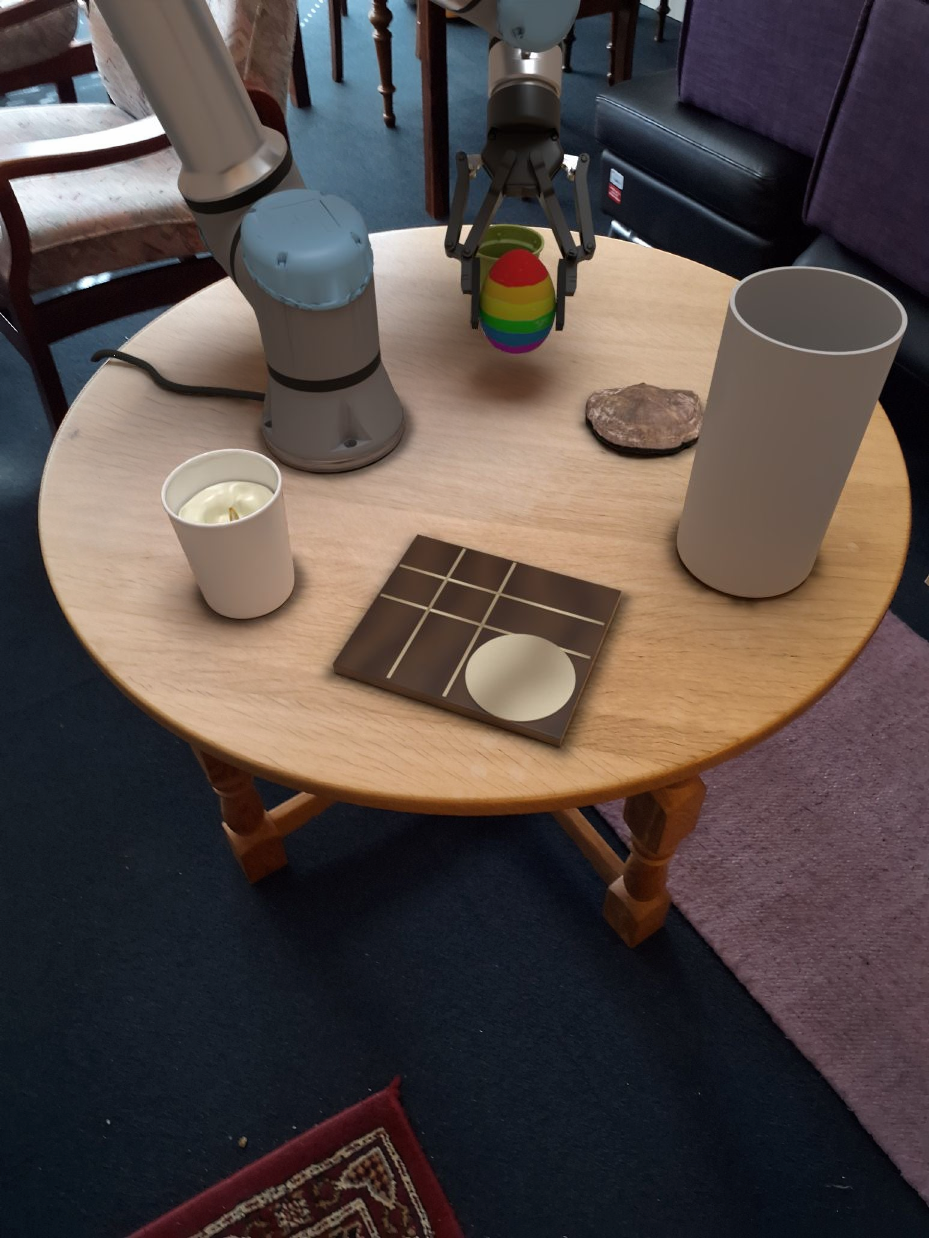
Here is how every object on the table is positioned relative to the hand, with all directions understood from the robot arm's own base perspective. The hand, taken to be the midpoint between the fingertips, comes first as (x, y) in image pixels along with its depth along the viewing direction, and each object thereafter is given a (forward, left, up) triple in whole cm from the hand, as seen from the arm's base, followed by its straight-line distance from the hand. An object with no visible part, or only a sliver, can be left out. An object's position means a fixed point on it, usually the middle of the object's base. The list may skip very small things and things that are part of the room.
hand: (517, 326), depth 92 cm
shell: (+14, +2, -10) cm, 18 cm away
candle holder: (-13, -35, -10) cm, 38 cm away
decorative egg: (-1, +3, -4) cm, 5 cm away
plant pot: (-9, +20, -10) cm, 25 cm away
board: (+9, -32, -10) cm, 35 cm away
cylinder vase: (+28, -14, -10) cm, 33 cm away
